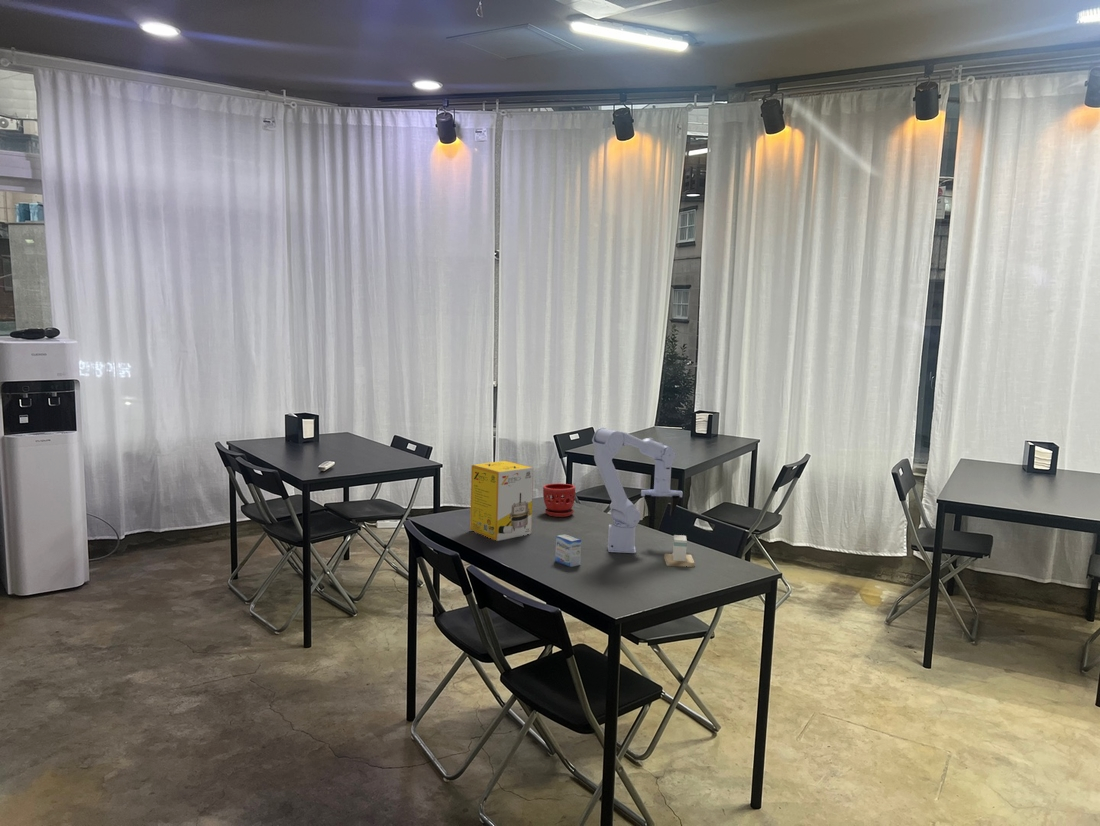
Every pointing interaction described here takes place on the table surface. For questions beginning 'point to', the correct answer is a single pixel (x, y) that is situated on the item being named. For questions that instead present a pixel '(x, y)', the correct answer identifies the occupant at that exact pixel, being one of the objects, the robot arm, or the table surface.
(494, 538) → the packaging box
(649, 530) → the table surface
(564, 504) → the plant pot
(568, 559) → the medicine box
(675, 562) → the oak block
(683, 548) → the carton block
